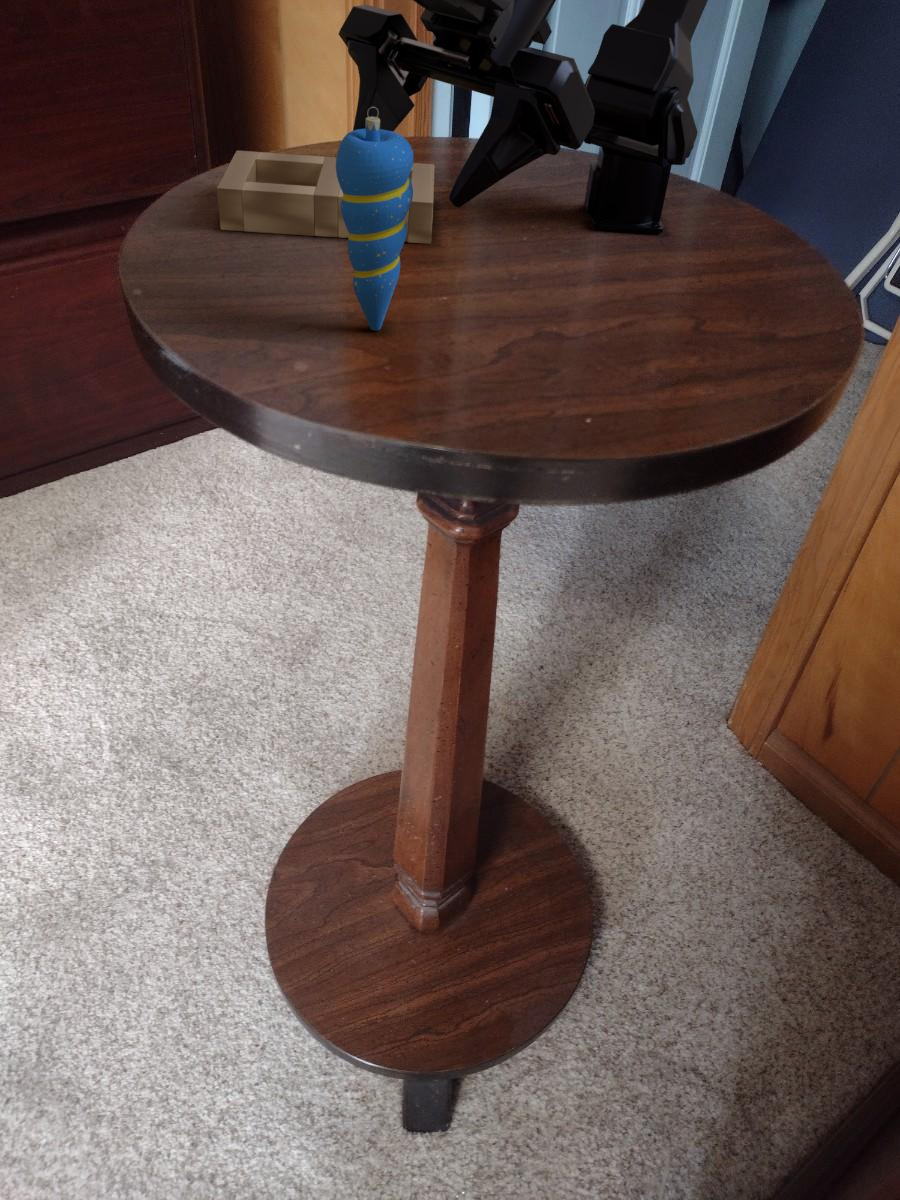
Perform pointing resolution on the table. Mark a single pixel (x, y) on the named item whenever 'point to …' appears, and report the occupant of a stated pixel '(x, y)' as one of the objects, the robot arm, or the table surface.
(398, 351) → the table surface
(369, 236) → the ornament
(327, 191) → the rack
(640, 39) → the robot arm
